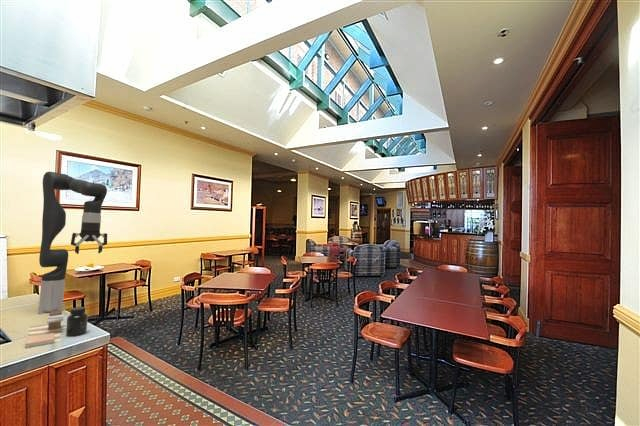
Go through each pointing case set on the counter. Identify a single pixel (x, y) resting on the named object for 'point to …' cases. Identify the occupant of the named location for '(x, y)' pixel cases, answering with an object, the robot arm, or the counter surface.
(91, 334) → the counter surface
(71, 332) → the supplement bottle
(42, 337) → the tile
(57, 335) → the board
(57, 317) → the brown block
